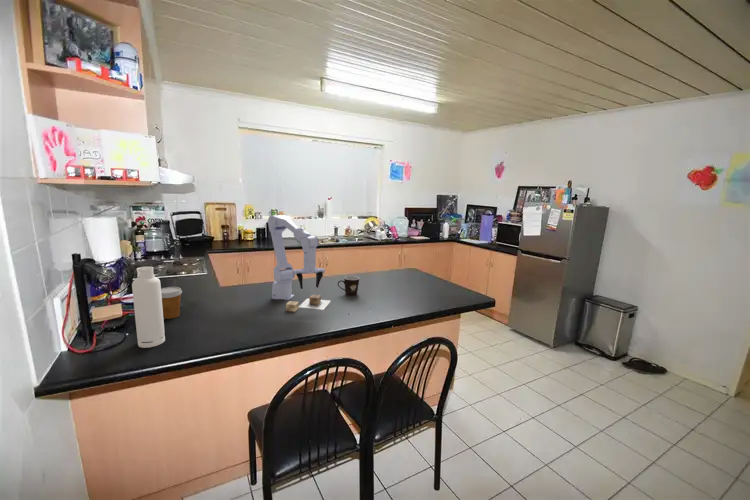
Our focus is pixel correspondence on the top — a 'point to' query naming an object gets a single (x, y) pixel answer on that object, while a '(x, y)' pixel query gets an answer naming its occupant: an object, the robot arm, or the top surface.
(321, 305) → the board
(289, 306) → the maple block
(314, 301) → the walnut block
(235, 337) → the top surface
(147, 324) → the bottle
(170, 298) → the disposable coffee cup
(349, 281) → the coffee mug
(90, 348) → the top surface
